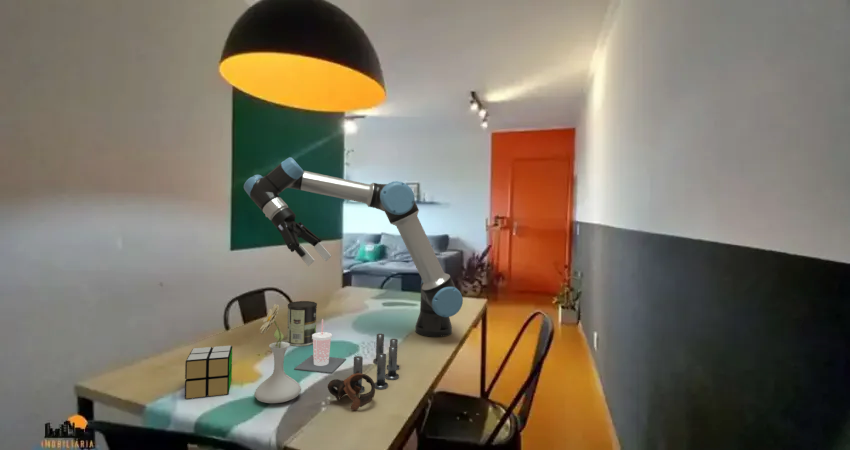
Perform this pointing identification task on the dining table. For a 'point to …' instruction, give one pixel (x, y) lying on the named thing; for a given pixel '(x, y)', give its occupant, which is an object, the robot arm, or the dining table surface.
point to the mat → (329, 368)
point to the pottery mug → (352, 390)
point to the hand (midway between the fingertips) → (320, 260)
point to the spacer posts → (380, 364)
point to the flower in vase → (277, 369)
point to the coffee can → (301, 323)
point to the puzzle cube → (208, 372)
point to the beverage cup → (321, 347)
